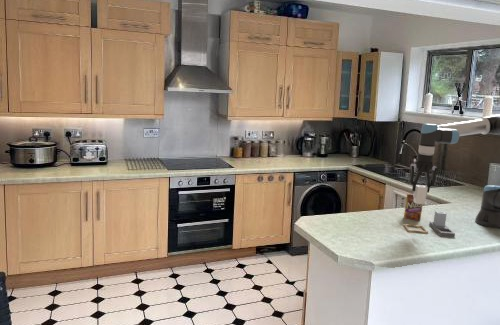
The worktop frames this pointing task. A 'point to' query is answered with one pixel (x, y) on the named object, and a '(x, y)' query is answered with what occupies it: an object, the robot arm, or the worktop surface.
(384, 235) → the worktop surface
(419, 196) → the block
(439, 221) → the charger blue
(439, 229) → the power strip
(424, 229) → the tray
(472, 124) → the robot arm
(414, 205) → the candy box
